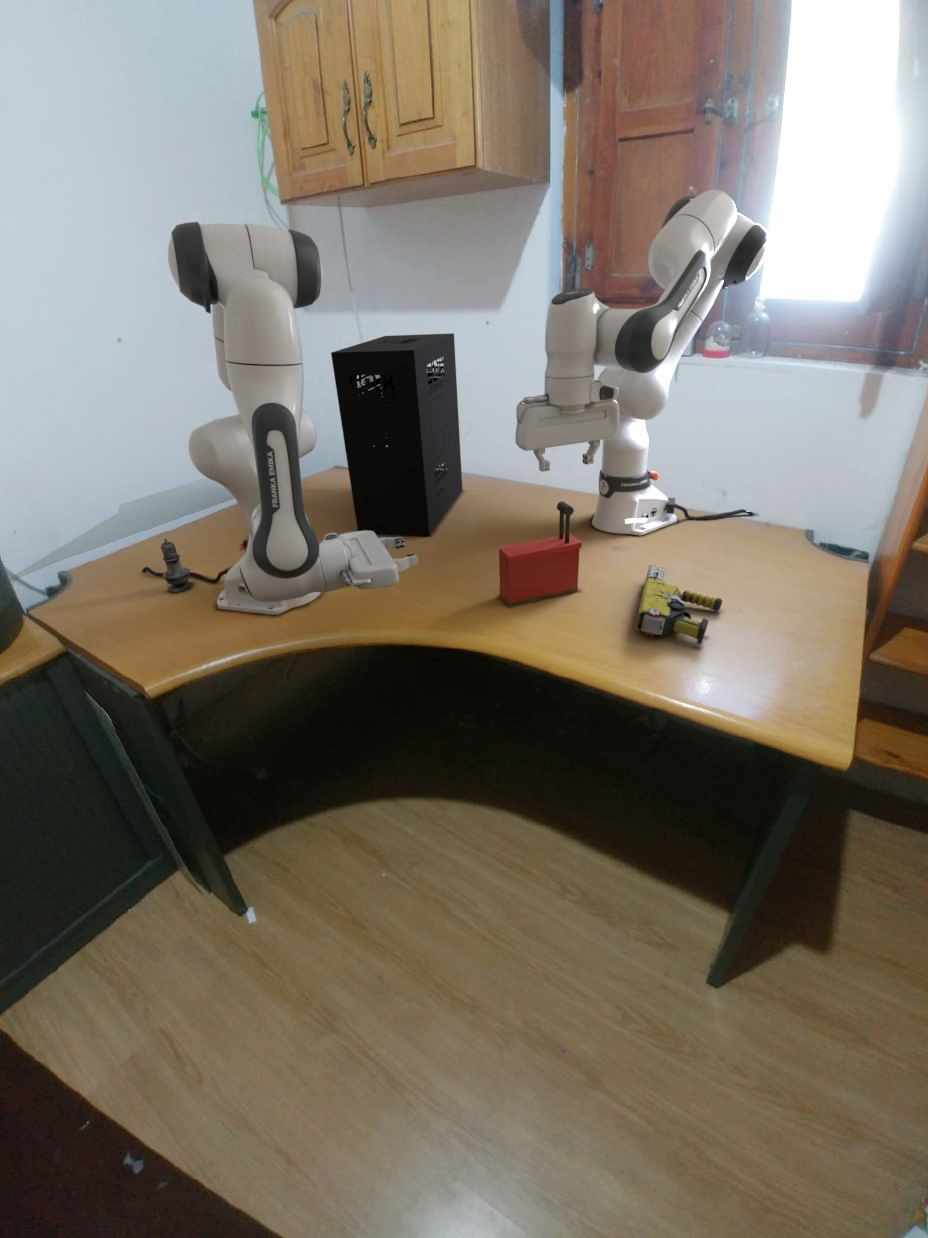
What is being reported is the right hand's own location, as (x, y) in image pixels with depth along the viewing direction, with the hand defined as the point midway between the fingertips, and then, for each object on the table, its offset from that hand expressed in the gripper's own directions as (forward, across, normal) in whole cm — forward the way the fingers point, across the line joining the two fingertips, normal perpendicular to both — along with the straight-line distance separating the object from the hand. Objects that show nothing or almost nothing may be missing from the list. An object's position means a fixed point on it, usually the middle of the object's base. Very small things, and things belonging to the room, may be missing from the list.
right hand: (566, 466), depth 116 cm
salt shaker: (+26, -79, +38) cm, 91 cm away
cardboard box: (+26, -15, +62) cm, 70 cm away
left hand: (+11, -32, 0) cm, 34 cm away
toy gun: (+26, +16, -19) cm, 36 cm away
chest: (+26, -6, 0) cm, 27 cm away
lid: (+16, -5, 0) cm, 17 cm away
